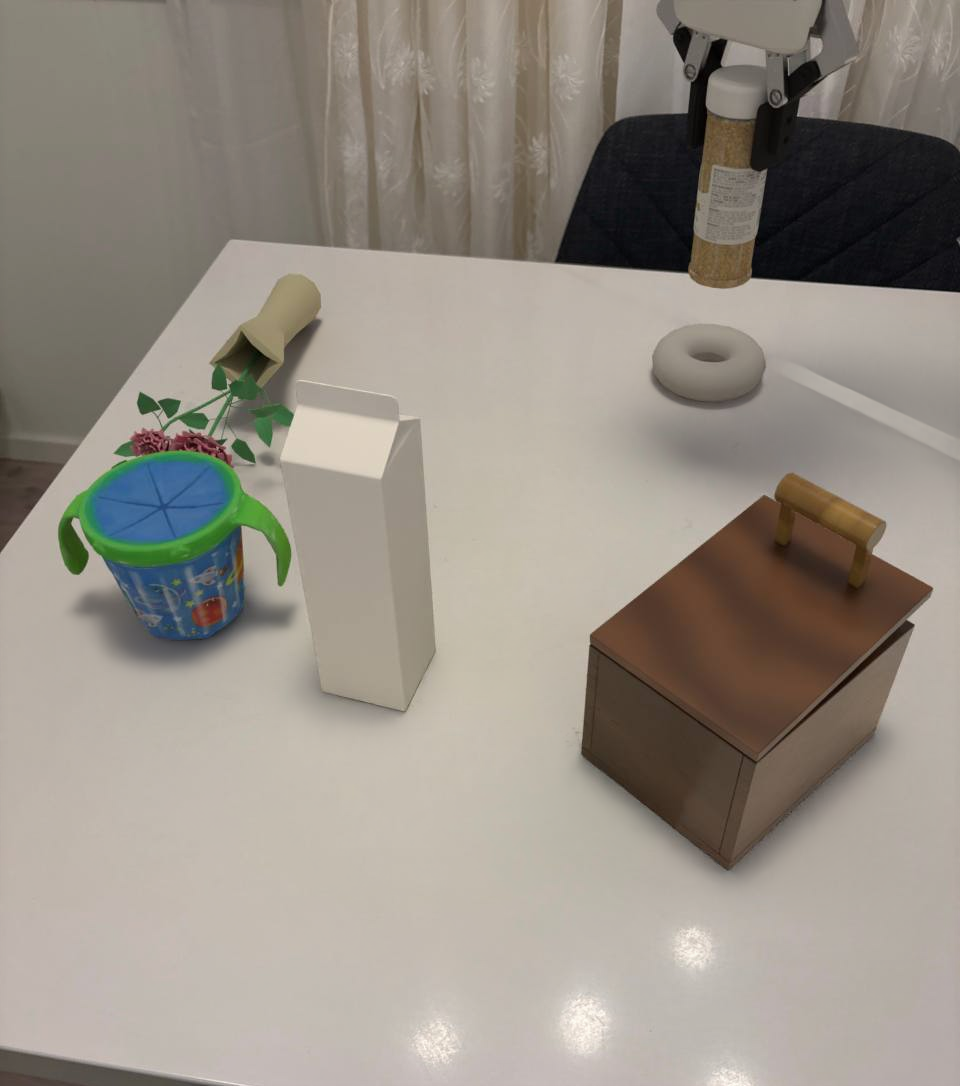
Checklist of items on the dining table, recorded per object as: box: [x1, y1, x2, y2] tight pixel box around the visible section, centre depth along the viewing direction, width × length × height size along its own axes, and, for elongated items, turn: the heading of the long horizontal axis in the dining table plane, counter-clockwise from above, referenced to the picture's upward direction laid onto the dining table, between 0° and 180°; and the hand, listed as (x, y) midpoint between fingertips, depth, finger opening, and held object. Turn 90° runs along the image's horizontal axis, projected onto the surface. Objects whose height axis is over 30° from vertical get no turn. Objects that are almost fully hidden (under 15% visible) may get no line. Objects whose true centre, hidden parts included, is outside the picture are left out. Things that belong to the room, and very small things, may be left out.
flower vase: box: [110, 273, 322, 470], centre depth 91 cm, size 12×12×35 cm
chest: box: [580, 619, 916, 871], centre depth 64 cm, size 15×12×10 cm
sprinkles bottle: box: [687, 64, 768, 290], centre depth 72 cm, size 5×5×14 cm
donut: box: [651, 323, 767, 402], centre depth 96 cm, size 10×3×10 cm
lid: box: [589, 472, 934, 762], centre depth 58 cm, size 15×12×6 cm
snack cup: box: [57, 451, 292, 641], centre depth 74 cm, size 16×10×10 cm
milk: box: [279, 379, 437, 712], centre depth 65 cm, size 6×6×22 cm
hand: (736, 150), depth 71 cm, fingers closed on sprinkles bottle, 4 cm apart
